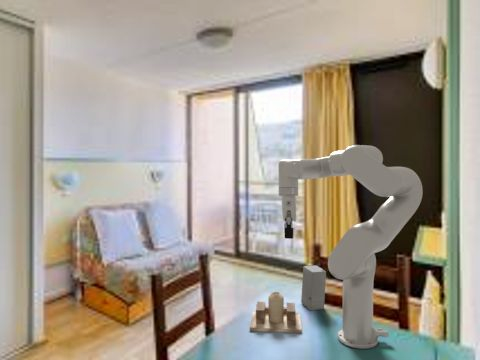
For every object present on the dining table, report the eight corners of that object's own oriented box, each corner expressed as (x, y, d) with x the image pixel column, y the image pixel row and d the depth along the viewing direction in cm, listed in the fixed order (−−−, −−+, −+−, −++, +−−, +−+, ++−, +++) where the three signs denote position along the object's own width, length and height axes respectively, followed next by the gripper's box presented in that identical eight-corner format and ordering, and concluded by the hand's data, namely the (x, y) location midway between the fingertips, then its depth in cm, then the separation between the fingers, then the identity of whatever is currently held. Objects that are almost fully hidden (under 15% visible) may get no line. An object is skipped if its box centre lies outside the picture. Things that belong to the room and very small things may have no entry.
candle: (283, 324, 128) (283, 296, 128) (267, 322, 129) (267, 295, 129) (284, 317, 134) (284, 291, 133) (269, 316, 135) (269, 290, 134)
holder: (299, 315, 138) (299, 299, 138) (301, 333, 124) (301, 315, 124) (252, 314, 140) (252, 298, 140) (249, 330, 126) (249, 313, 126)
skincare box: (300, 303, 150) (300, 265, 149) (316, 301, 152) (316, 264, 151) (310, 311, 142) (310, 271, 141) (326, 309, 144) (326, 269, 143)
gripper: (299, 193, 130) (299, 240, 131) (297, 190, 147) (297, 231, 148) (278, 193, 131) (278, 240, 132) (278, 190, 148) (279, 231, 149)
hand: (288, 235), depth 140 cm, fingers open, 9 cm apart
